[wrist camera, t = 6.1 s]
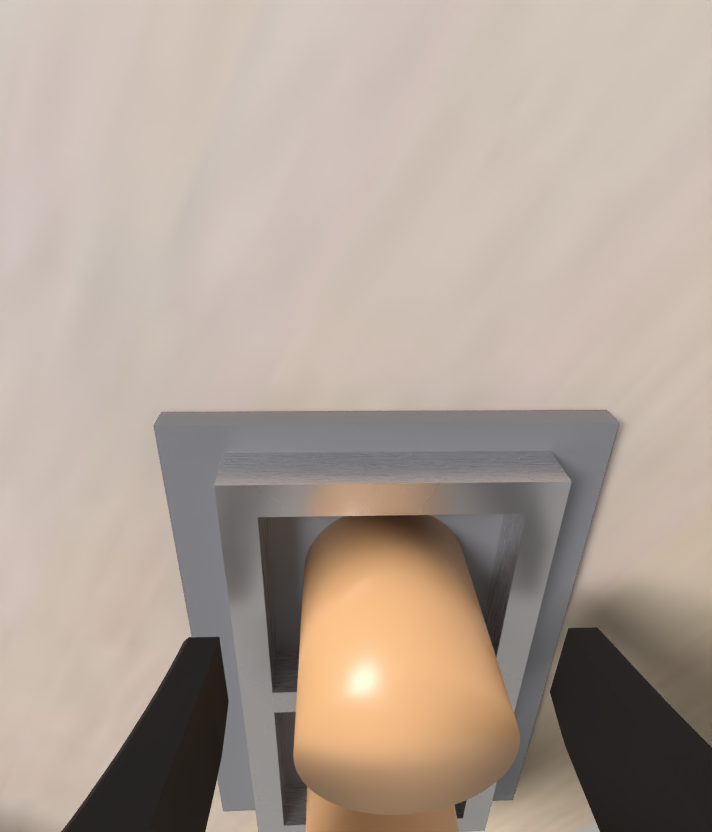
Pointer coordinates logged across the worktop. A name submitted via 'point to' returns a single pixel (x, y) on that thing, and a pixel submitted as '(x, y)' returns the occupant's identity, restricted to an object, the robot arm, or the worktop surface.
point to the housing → (370, 496)
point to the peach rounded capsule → (397, 671)
